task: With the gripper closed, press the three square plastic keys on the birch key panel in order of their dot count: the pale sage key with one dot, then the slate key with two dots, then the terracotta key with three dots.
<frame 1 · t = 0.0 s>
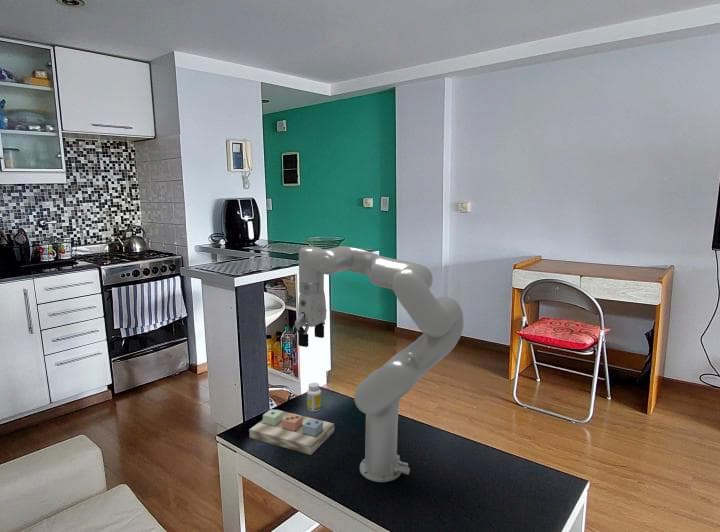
hand: (311, 341, 142), 37 cm above the table, tool pointing down, fingers open, 9 cm apart
key panel: (292, 434, 158), on the table
key two dots: (312, 427, 154), point 5 cm above the table, slide at 0.0 cm
key one dot: (272, 417, 160), point 5 cm above the table, slide at 0.0 cm
supplement bottle: (314, 409, 177), on the table
key three dots: (292, 422, 157), point 5 cm above the table, slide at 0.0 cm
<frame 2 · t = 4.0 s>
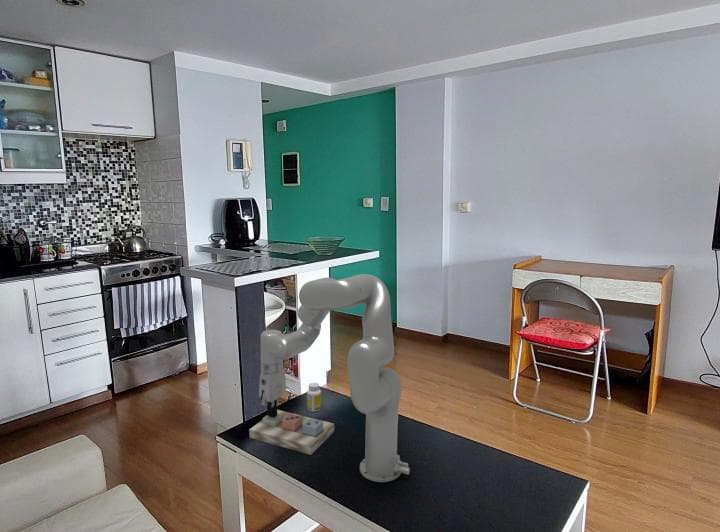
hand: (272, 415, 160), 5 cm above the table, tool pointing down, fingers closed
key one dot: (273, 420, 160), point 3 cm above the table, slide at 1.2 cm, touching gripper
everything else where it was.
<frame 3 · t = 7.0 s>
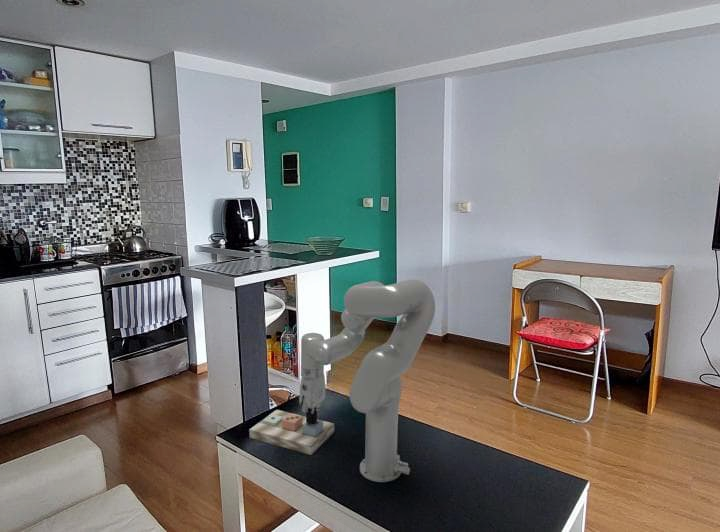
hand: (311, 422, 154), 6 cm above the table, tool pointing down, fingers closed
key two dots: (312, 427, 154), point 5 cm above the table, slide at 0.1 cm, touching gripper
key one dot: (273, 422, 161), point 3 cm above the table, slide at 1.9 cm
everything else where it was.
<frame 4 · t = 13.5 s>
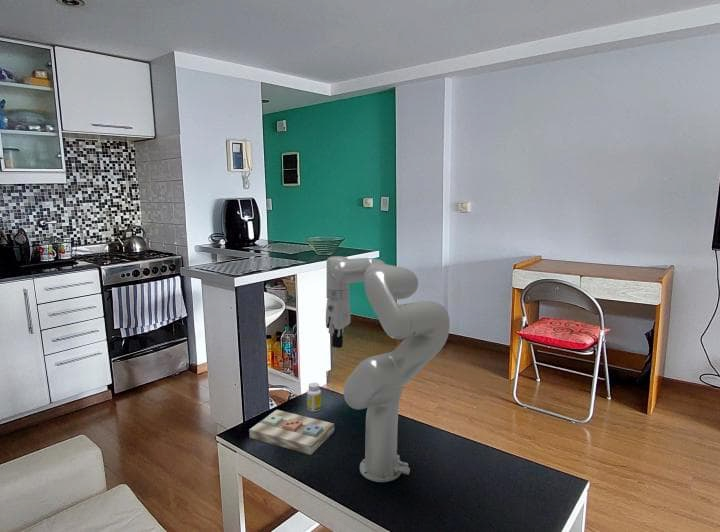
hand: (337, 346, 155), 31 cm above the table, tool pointing down, fingers closed
key two dots: (312, 432, 154), point 3 cm above the table, slide at 1.9 cm
key three dots: (292, 427, 157), point 3 cm above the table, slide at 1.9 cm
everything else where it was.
at the end: key one dot slide at 1.9 cm; key two dots slide at 1.9 cm; key three dots slide at 1.9 cm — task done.
